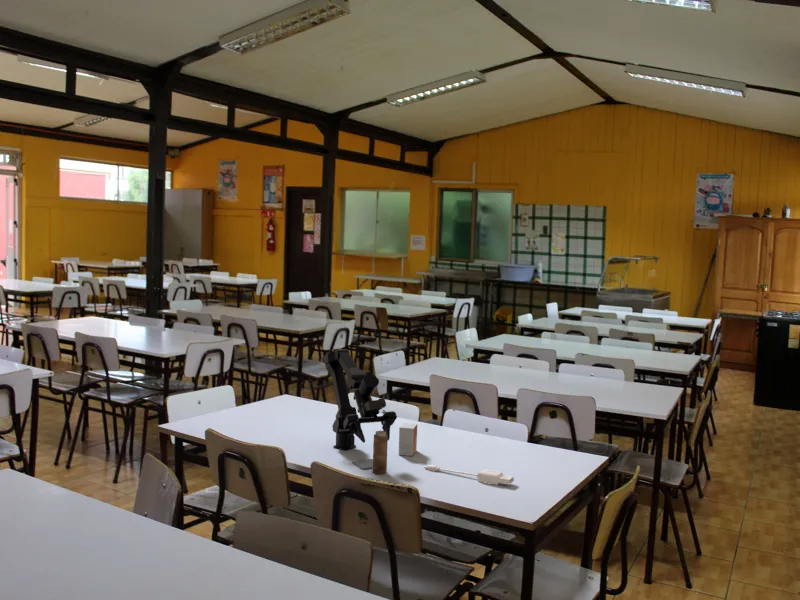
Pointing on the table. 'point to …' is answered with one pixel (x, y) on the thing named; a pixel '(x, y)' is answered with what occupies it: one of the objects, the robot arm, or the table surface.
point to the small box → (407, 439)
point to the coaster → (364, 464)
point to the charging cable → (481, 475)
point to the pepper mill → (380, 453)
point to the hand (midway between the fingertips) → (376, 440)
